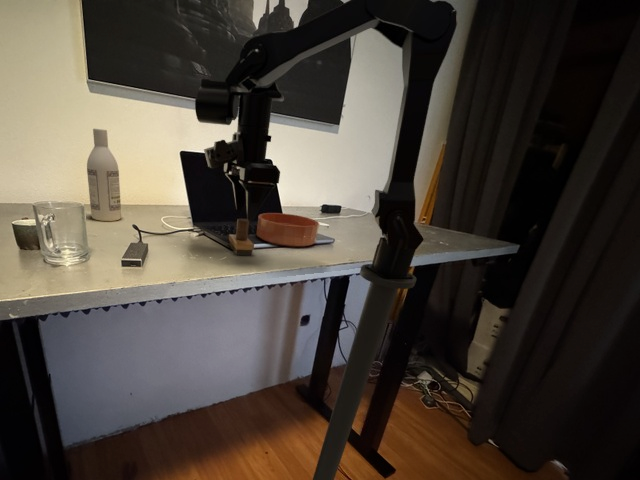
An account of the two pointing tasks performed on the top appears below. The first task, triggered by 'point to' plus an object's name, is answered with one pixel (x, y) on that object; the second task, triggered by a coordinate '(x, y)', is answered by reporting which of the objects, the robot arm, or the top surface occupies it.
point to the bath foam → (103, 180)
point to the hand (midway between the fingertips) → (244, 215)
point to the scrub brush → (241, 239)
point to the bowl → (287, 229)
